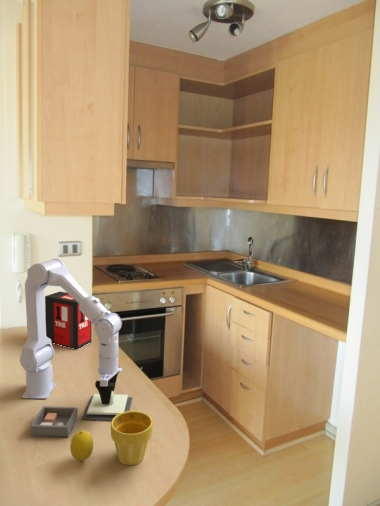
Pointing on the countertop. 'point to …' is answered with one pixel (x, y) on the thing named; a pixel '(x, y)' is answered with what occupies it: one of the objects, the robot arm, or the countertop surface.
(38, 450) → the countertop surface
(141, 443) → the plant pot
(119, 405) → the lid
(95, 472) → the countertop surface
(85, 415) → the mat
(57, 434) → the storage box
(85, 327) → the cleaning product box
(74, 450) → the lemon
